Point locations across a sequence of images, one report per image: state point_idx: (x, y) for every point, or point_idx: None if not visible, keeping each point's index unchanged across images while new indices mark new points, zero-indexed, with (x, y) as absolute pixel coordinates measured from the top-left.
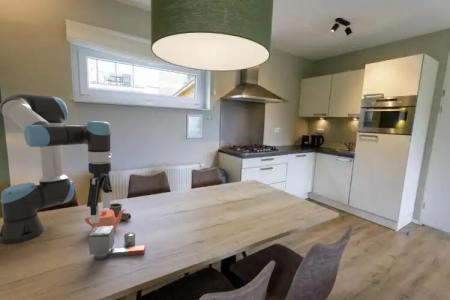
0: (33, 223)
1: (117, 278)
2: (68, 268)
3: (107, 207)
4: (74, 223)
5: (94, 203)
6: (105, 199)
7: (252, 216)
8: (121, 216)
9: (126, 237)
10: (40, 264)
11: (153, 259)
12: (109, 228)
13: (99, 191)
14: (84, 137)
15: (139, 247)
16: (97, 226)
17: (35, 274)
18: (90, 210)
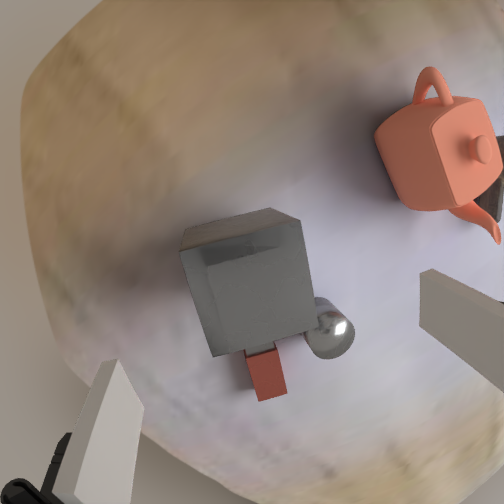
0: None
1: (124, 366)
2: (139, 166)
3: (422, 311)
4: (434, 21)
5: None
6: (475, 332)
7: (419, 493)
8: (488, 188)
9: (312, 337)
10: (158, 46)
11: (233, 420)
12: (281, 324)
13: None
14: None
15: (273, 383)
16: (401, 142)
17: (102, 77)
18: (68, 451)
